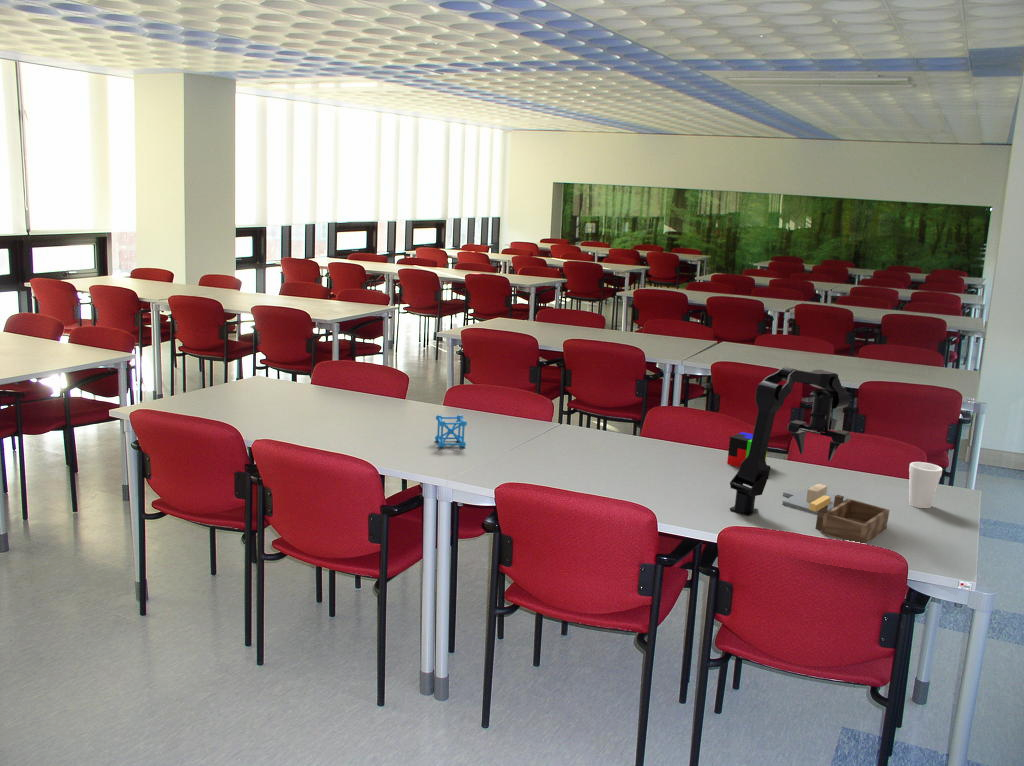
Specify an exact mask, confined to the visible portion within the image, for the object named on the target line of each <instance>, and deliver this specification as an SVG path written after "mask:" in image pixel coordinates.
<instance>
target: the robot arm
mask: <svg viewBox="0 0 1024 766" xmlns="http://www.w3.org/2000/svg"><path fill="white" fill-rule="evenodd" d="M782 381H785V383H784V385H783V384H779V383H781V382H782ZM795 383H801V384H808V385H809V386H811V387H814V388H815V389H814V390H813V391H811V393H810V394H809V396H810V397H813V401H812V409H811V412H810V413H809V417H810V422H809V423H810V424H809V425H808V424H807V422H806V421H802V420H798V419H795V420H791V421H790V422H789V423H788V424H787V430H786V431H788V432H790V434H791V435H793V437H794V440H795V441H796V444H797V447H798V451H799V454H800V455H803V454H804V450H805V449H804V448H805V439H806V438H805V437H806V435H807V433H811V434H817V435H820V436H824V437H828V438H829V437H830V438H831V440H832V441H830V442H829V449H828V455H827V461H828V462H831V461H832V458H833V457H834V455H835V453H836V451H837V450H838V449H839V447H840V446H841V445H844V444H846V443H848V442H850V441H851V438H852V434H851V432H850V431H848V430H842V429H837V430H835V429H836V426H837V421H838V420H837V419H835V418H833V413H832V410H834V409H841V408H846V407H848V406H849V405H850V404H851V401H852V398H851V396H850V393H849V392H848V391H847V387H846V386H843V385H842V384H841V381H840V378H839V374H838V373H835V372H832V371H829V370H828V371H827V370H824V369H812V371H808V370H803V369H798V368H797V369H796V368H791V367H788V366H782V367H781V368H779V369H778V370H777V371H776V372H774V373H772V374H769V375H768V376H766V377H765V378H763V380H762V381H761V382H760V383H758V384H757V386H756V390H755V403H756V406H757V407H756V408H757V416H756V420H755V424H754V428H753V433H752V434H753V437H752V441H751V446H750V451H749V455H748V457H747V458H746V459H745V460H744V461H743V462H742V463H741V466H740V467H739V469H738V471H737V473H736V474H735V475H734V476H733V478H732V479H731V480H730V482H729V486H730V489H733V490H735V500H734V506H732V507H730V508H729V511H733V512H735V513H739V514H743V515H745V516H748V517H749V516H751V515H753V514H755V513H757V512H758V511H759V508H756V507H755V502H756V497H758V496H762V495H763V492H764V489H765V488H766V484H767V482H768V480H769V475H770V471H771V466H770V465H768V464H767V460H766V461H765V457H766V453H767V454H768V448H769V443H770V439H771V435H772V430H773V425H774V421H775V417H776V413H778V411H779V410H780V409H781V408H782V407H783V405H784V402H785V400H786V398H787V397H788V396H789V395H790V394H791V393H792V391H793V386H794V384H795ZM834 430H835V431H834ZM766 458H767V457H766Z"/></svg>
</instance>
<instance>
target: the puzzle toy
mask: <svg viewBox="0 0 1024 766" xmlns="http://www.w3.org/2000/svg"><path fill="white" fill-rule="evenodd" d="M752 437H753V433H749V432H744V431H742V432H738V433H736V434H734V435H731V436H729V443H728V452H727V453H728V455H727V460H726V461H727V462H726V463H727V465H730V466H733V467H739V468H740V466H741V463H742V462H743V461H744V460H745V459H746V458H747V457H748V455H749V451H750V446H751V441H752ZM767 455H768V452H767V453H766V457H765V461H766V462H767Z"/></svg>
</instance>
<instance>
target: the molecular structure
mask: <svg viewBox="0 0 1024 766" xmlns="http://www.w3.org/2000/svg"><path fill="white" fill-rule="evenodd" d="M450 419H451V420H452V419H454V420H456V421H455V422H445V420H450ZM463 419H464V416H463V414H458V415H457V416H442V414H437V415H436V416H435V420H436V421H437V432H436V433H437V434H436V435H435V436H434V439H435V441H436V442H438V443H437V446H438V448H439V449H440V448H441V449H442V448H444V447H445V446H459V447H461V448H465V447H466V445H467V443H466V441H465V427H466V426H467V424H468V422H467V420H465V419H464V420H463ZM450 425H452V427H449V426H450ZM444 428H445V429H446V430H447V431H446V432H444ZM461 428H462V429H461ZM455 430H457V431H458V432H457V433H455ZM461 430H462V431H461ZM450 435H452V436H450ZM446 440H456V441H457V442H456V443H455V442H452V443H451V442H446ZM458 442H459V443H458Z"/></svg>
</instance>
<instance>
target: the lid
mask: <svg viewBox="0 0 1024 766" xmlns="http://www.w3.org/2000/svg"><path fill="white" fill-rule="evenodd" d="M827 490H828V485H825V484H823V483H822V484H820V483H817V484H815V485H813V486H811V487H810V486H809V487H807V488H805V489H802V490H801V491H795V490H791V489H787V490H785V491H783V493H782V496H783V497H786V498H785V499H784V500H782V504H781V505H783V506H786V507H790V508H793V509H796V510H800V511H804V512H807V513H810V514H814V515H817V514H818V511H816V512H815V511H812V510H809V506H810V503H811V502H813V501H815V500H816V499H818V498H820V497H822V496H824V495H825V496H829V497H831V499H830V504H828V508H827V512H828V511H829V510H831V509H833V507H834V500H835V496H836V495H837V494H835V493H832V492H828V491H827ZM848 499H849V498H848V497H845V496H844V498H843V502H845V501H846V500H848Z"/></svg>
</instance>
